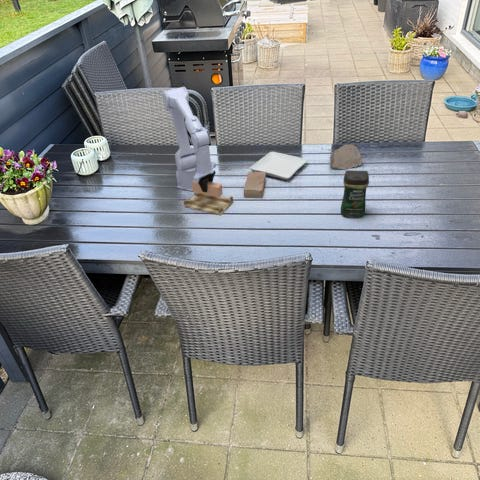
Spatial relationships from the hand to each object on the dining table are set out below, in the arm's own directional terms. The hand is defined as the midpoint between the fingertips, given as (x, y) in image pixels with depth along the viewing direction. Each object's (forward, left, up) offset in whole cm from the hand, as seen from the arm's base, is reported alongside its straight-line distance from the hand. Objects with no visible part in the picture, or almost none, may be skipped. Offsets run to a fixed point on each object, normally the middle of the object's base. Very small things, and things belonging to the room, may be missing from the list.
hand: (207, 189), depth 188 cm
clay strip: (0, 0, -2) cm, 2 cm away
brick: (+13, +20, -8) cm, 25 cm away
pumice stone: (+43, +55, -8) cm, 71 cm away
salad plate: (+15, +41, -8) cm, 44 cm away
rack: (0, 0, -8) cm, 8 cm away
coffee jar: (+58, +16, -8) cm, 61 cm away
